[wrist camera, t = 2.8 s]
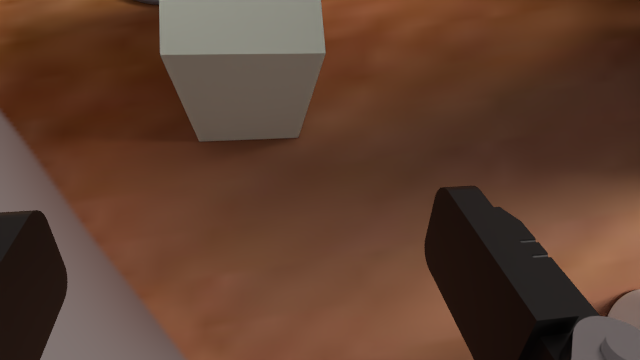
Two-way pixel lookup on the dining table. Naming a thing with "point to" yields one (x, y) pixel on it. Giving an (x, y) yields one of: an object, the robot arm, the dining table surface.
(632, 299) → the cosmetic bottle
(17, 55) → the dining table surface
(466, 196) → the robot arm
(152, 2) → the coaster
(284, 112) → the pale grey rectangular box
